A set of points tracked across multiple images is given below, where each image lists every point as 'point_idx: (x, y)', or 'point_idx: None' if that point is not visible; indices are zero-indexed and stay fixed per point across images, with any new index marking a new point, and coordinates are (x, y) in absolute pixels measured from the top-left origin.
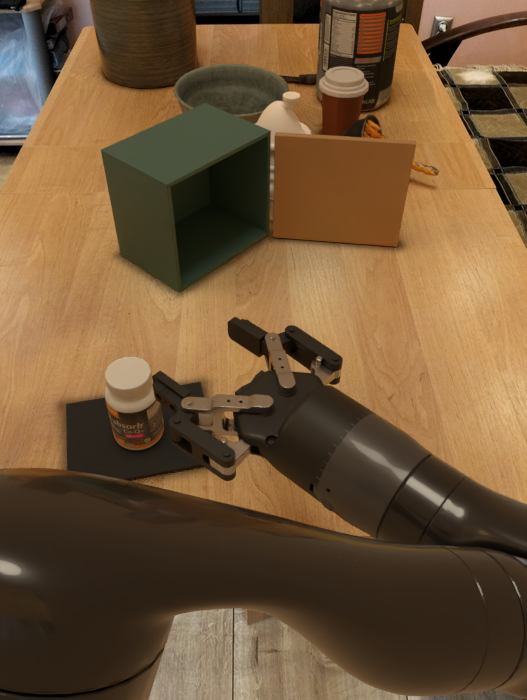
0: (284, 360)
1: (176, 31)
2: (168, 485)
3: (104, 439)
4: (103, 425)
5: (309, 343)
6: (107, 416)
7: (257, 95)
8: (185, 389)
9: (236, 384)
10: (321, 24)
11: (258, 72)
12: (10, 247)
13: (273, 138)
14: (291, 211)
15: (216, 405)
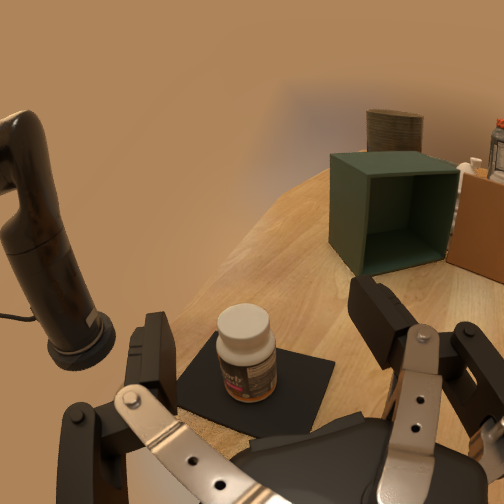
0: (430, 409)
1: (410, 142)
2: (241, 446)
3: (219, 374)
4: None
5: (496, 375)
6: None
7: None
8: (157, 368)
9: (367, 377)
10: (491, 150)
11: (453, 165)
12: (262, 220)
13: (460, 186)
14: (465, 242)
15: (153, 451)
